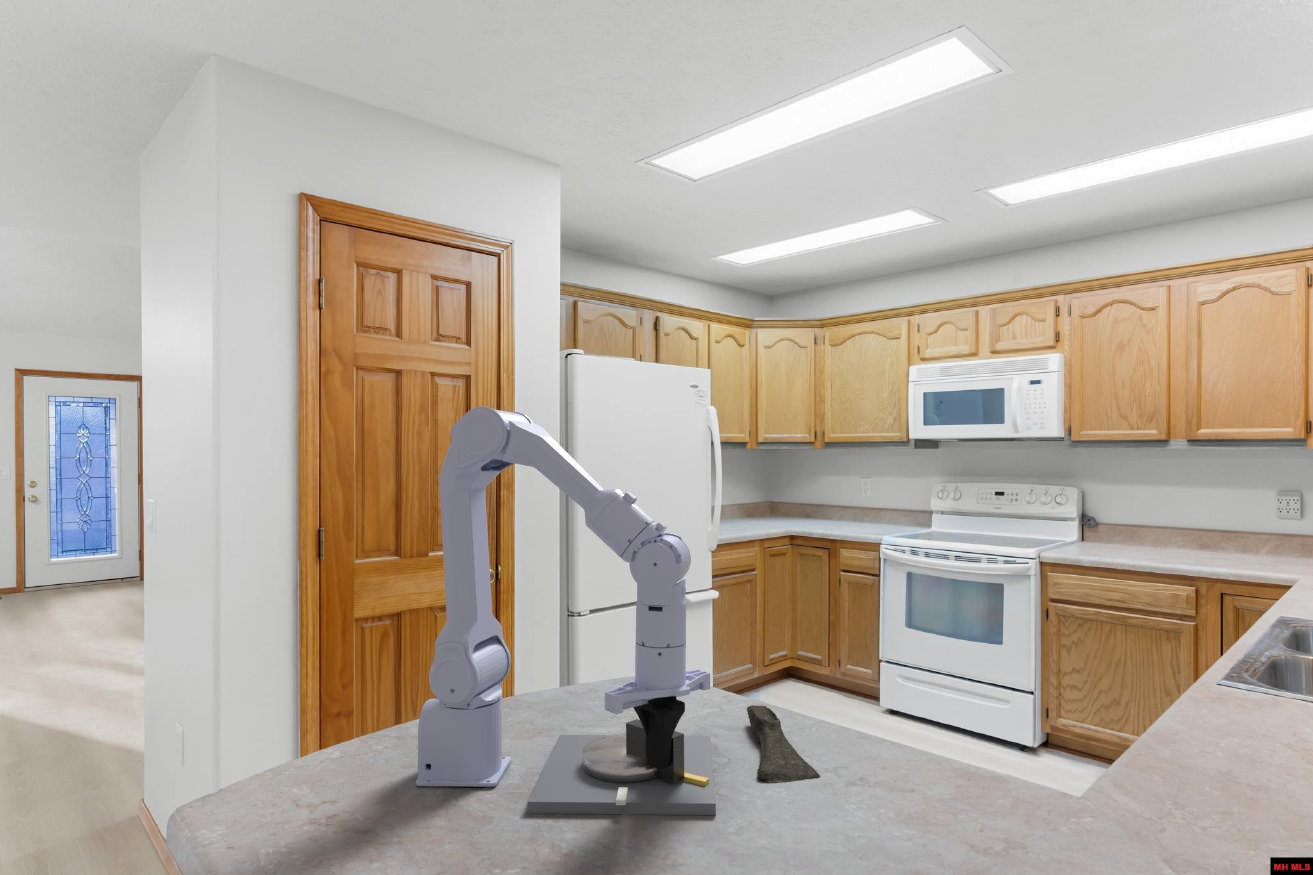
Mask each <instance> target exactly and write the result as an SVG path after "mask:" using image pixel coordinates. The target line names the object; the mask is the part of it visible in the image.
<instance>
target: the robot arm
mask: <svg viewBox="0 0 1313 875" xmlns="http://www.w3.org/2000/svg"><path fill="white" fill-rule="evenodd" d="M450 433H451V434H450V438H451V439H450V440H451V442H450V444H449V448H448V450H447V452H446V455H445V457H444V460H443V463H442V465H441V468H440V471H439V476H438V477H439V478H438V481H439V483H438V484H439V485H438V486H439V501H440V503H439V504H440V518H441V537H442V541H441V542H442V555H443V556H442V558H443V576H444V592H445V593H444V595H445V609H446V610H445V613H446V621H445V622H444V623H445V624H444V625H443V626H442V629H441V630H440V633H439V634H438V636H437V637H436V639H435V642H434V656H433V657H434V658H433V661H432V664H431V666H430V669H429V674H428V678H429V679H428V681H429V685H430V686H429V687H430V689H431V691H432V693H433V695H434V696H435V698H430V699H427V700H426V701H425V702H424V704H423V705H422V708H421V710H420V715H419V718H418V719H419V720H418V726H417V727H418V728H417V779H416V780H415V786H418V787H481V788H482V787H485V788H487V787H488V788H489V787H495V786H497V785H498V783H499V782H500V781H501V778H502V777H503V775H504V774H505V772H506V771H507V769H508V767H509V766H510V763H511V762H512V757H511V756H503V698H502V697H503V691H502V688H503V684H502V683H503V681H504V680H505V679H506V678H507V677H508V675H509V673H510V670H511V667H512V666H511V665H512V657H511V652H510V650H509V648H508V646H507V644H506V643H505V640H504V634H503V626H502V624H501V623H500V622H499V621H498V620H497V618H496V617H495V616H494V614H493V602H492V585H491V584H492V582H491V568H490V548H489V534H488V533H489V531H488V516H487V515H488V514H487V500H486V499H487V498H486V497H487V496H486V488H487V487H488V485H490V484H491V483H492V482H493V481H494V480H495V478H496V477H497V476H498V475H499V474H500V473H502V472H503V471H504V470H505V469H507V468H509V467H511V466H513V465H515V464H516V465H520V466H526V467H527V466H528V467H532V468H534V469H535V470H537V471H538V472H539V473H541V474H542V476H544V477H545V478H546V479H547V480H549V481H550V482H551V483H552V484H553V485H555V486H556V487H557V488H558V489H559V490H560V491H562V492H563V493H564V494H566V496H568V497H569V498H570V499H571V500H572V501H574V502H575V503H576V504H577V505H578V506H579V507H581V508H582V509H583V510H584V511H583V512H584V519H585V520H584V522H585V525H586V527H587V528H588V529H590V531H591V532H593V533H594V535H596V537H598V538H599V539H600V540H601V541H602V542H603V543H604V544H605V545H607V547H608V548H609V549H610V550H612V551H613V552H614V554H616V555H617V556H618V557H619V558H621V560H622V561H623V562H625V563H629V572H630V574H631V576H632V579H634V582H636V583H637V584H636V587H637V588H636V602H635V650H634V651H635V654H634V655H635V658H634V662H635V664H634V668H635V669H634V679H632V680H630V681H629V682H626V683H625V684H623V685H620V686H618V687H617V688H614V689H611V690H608V691H604V711H606V712H609V713H612V714H613V715H619V714H622V713H624V711H625V710H627V709H628V710H629V709H632V708H633V709H634V712H635V714H636V715H637V717H638V720H640V721H641V723H642V726H643V728H644V731H645V734H646V758H647V764H648V765H651V766H653V767H655V768H657V769H662V768H665V767H668V766H669V762H670V756H671V739H672V736H673V733H674V731H676V728H677V726H678V724H679V722H680V721H681V718H682V717H683V715H685V714H684V713H685V712H686V703H685V702H684V701H682V700H680V699H677V698H680V697H681V698H682V697H685V696H689V695H690V694H691V692H695V691H699V690H701V691H708V690H710V689H711V672H709V671H706V670H702V669H693V670H689V671H686V670H687V669H686V668H687V666H686V664H687V662H686V661H687V660H686V658H687V657H686V656H687V652H686V650H687V601H686V594H687V592H686V590H687V589H686V579H683V578H684V577H686V574H687V573H688V572H689V570H690V567H691V561H692V560H691V559H692V556H691V551H690V549H689V547H688V546H687V544H686V542H684V541H683V538H682V537H681V535H678V534H676V533H674V532H673V533H672V532H665V531H666V530H667V525H666V524H664V523H663V522H662V521H659V522H656V521H655V520H654V519H653V518H652V517H651V516H650V515H648V514H647V513H646V511H644V510H643V509H642V508H641V507H639V505H637V504H636V502H637V500H638V498H637V496H635V495H634V494H633V493H632V492H631V491H627V492H626V491H625V493H624V492H623V491H622V490H621V489H619V488H612V489H604V488H603V487H602V486H601V485H600V483H598V482H597V481H596V479H594V478H593V476H591V475H590V474H589V473H588V472H587V470H585V468H583V467H582V465H580V464H579V463H578V462H577V461H576V460H575V459H574V458H573V457H572V456H571V455H570V454H569V453H568V452H567V451H566V450H565V449H564V448H563V447H562V446H561V445H560V444H559V443H558V442H557V441H556V440H555V439H554V438H553V437H552V436H551V435H550V433H549V432H548V431H547V430H545V428H543V427H542V426H540V425H539V424H537V423H534V422H533V420H532V419H531V418H530V417H529V416H528V415H526V414H525V413H522V412H519V411H506V410H500V409H499V410H498V409H495V408H492V407H489V406H476V407H473V408H471V409H470V410H468V411H467V412H466V413H464V414H463V416H461V417H460V418H459V419H458V420H457V421H456V422H455V423H454V424H453V425H452V426H451V427H450Z"/></svg>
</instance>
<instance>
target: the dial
mask: <svg viewBox="0 0 1313 875" xmlns="http://www.w3.org/2000/svg"><path fill="white" fill-rule="evenodd" d="M609 735H610V736H605V737H601V738H598V739H596V740H593V741H591V742H590V743H588V744H587V745H586V746H585V747H584V748H583V751H582V755H583V769H584V770H585V771H586V772H587V773H588V774H590V775H592V776H594V777H597V778H600V779H603V780H608V781H616V782H636V781H644V780H649V779H653V778H656V777H657V778H660V779H662V780H665V781H668V782H670V783H673V784H674V783H677V782H679V781H681V780H683V779H684V736H685V734H684V733H683V732H679V731H676V730H675V731H674V733H673V736H672V739H671V756H670V762H669V766H668V767H665V768H662V769H657V768H655V767H653V766H651V765H648V764H647V758H646V734H645V731H644V728H643V726H642V723H641V721H640V719H639V718H636V719H633V720H630V721H628V722H626V723H625V733H617V734H609Z"/></svg>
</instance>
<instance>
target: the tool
mask: <svg viewBox="0 0 1313 875" xmlns="http://www.w3.org/2000/svg"><path fill="white" fill-rule="evenodd" d="M746 711H747V717H748V720H749V724H750V728H751V730H752V734H753V736H754V737H755V739H756V740H757V742H759V743H760V756H759V757H760V759H759V760H760V761H759V765H758V768H757V770H756V771H757V772H756V775H757V780H760V781H763V782H765V783H768V784H771V783H772V784H773V783H775V784H776V783H792V782H797V781H798V782H799V781H805V780H813V779H814V780H815V779H820V778H821V775H820V774H819V772H817V770H815V769H814V768H813V766H812V765H811V764H809V763H808V762H807V761H806V760H805V759H804V758H803V757H802V756H801V755H800V754H799V753H798V752H797V750H796V749H795V748H794V746H793V745H792V744H791V743H790V742H789V741H788V739H787V737H786V736H785V734H784V731H783V729H782V726H781V725H782V724H781V720H780V719H779V717H778V716H777V714H776V713H775V712H774V711H773V710H772V709H771V708H769V707H767V706H766V705H753V704H752V705H749V706H747V708H746Z"/></svg>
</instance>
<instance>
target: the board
mask: <svg viewBox="0 0 1313 875" xmlns="http://www.w3.org/2000/svg"><path fill="white" fill-rule="evenodd" d="M610 735H611V734H559V736H558V738H557V739H556V742H555V744H554V747H553V748H552V750H551V753H550V755H549V757H548V759H547V760H546V763H545V764H544V767H543V769H542V771H541V773H540V775H539V778H538V779H537V781H536V783H535V785H534V787H533V789H532V791H531V794H530V796H529V798H528V801H527V814H561V815H562V814H565V815H568V814H569V815H570V814H571V815H572V814H573V815H574V814H575V815H577V814H578V815H580V814H581V815H586V814H587V815H657V816H658V815H660V816H662V815H665V816H666V815H667V816H669V815H671V816H672V815H673V816H676V815H677V816H678V815H679V816H680V815H681V816H717V805H716V804H717V802H716V801H717V800H716V791H715V777H714V767H713V766H714V765H713V754H712V753H713V752H712V743H711V741H712V740H711V735H684V779H683V780H681V781H679V782H677V783H674V784H673V783H670V782H668V781H665V780H662V779H660V778H657V777H656V778H653V779H649V780H644V781H636V782H616V781H608V780H603V779H600V778H597V777H594V776H592V775H590V774H588V773H587V772H586V771H585V770H584V769H583V755H582V751H583V748H584V747H585V746H586V745H587V744H588V743H590V742H591V741H593V740H596V739H598V738H601V737H605V736H610Z"/></svg>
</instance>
